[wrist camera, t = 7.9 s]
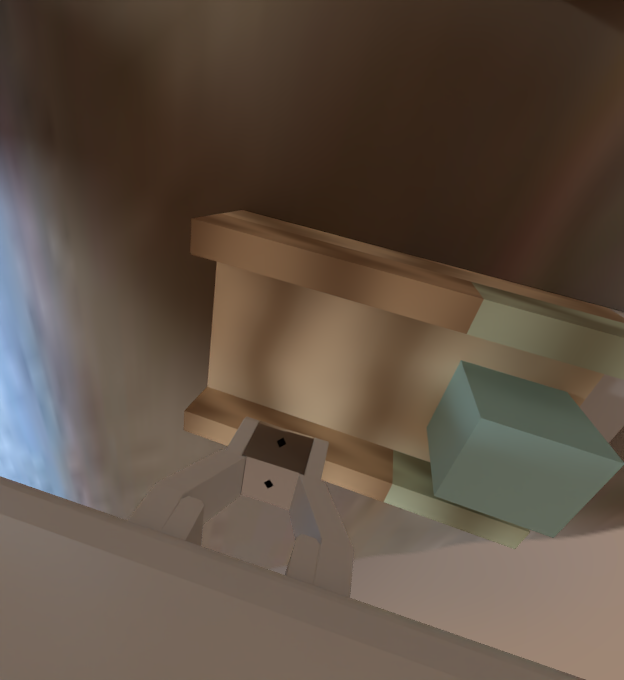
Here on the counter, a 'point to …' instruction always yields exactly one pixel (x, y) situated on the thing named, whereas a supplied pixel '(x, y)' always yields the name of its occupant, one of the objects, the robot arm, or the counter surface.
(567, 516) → the block
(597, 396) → the mat
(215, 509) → the robot arm
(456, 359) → the channel
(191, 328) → the counter surface
